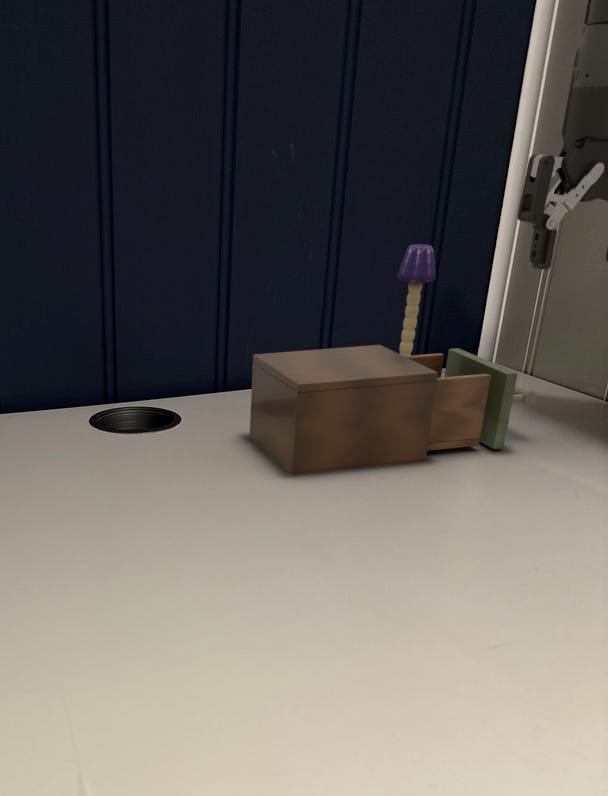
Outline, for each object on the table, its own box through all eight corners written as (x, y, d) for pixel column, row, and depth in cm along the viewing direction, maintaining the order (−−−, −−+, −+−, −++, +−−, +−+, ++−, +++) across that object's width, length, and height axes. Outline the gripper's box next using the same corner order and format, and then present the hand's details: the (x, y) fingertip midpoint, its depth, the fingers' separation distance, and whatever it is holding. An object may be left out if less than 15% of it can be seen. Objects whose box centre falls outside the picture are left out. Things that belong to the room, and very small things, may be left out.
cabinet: (370, 430, 106) (380, 344, 101) (425, 466, 95) (438, 372, 90) (248, 442, 103) (253, 354, 98) (291, 480, 93) (298, 384, 88)
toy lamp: (428, 379, 124) (447, 245, 116) (404, 385, 122) (422, 249, 113) (400, 372, 128) (417, 241, 119) (377, 378, 125) (392, 245, 117)
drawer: (481, 414, 107) (493, 345, 103) (540, 444, 98) (556, 369, 94) (338, 427, 104) (344, 357, 100) (384, 460, 94) (394, 383, 91)
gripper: (571, 84, 82) (537, 277, 91) (710, 77, 85) (664, 265, 93) (522, 85, 89) (494, 265, 97) (653, 78, 91) (615, 255, 99)
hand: (578, 265), depth 95 cm, fingers open, 8 cm apart
